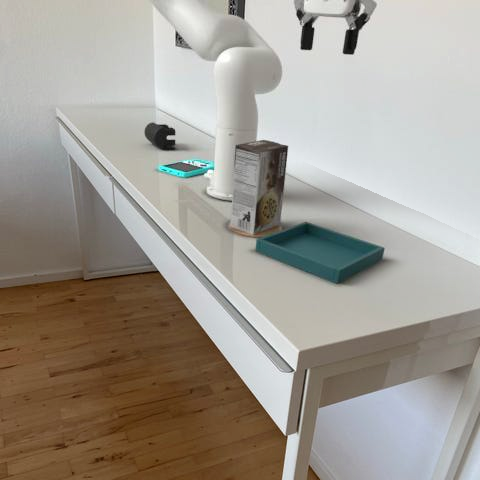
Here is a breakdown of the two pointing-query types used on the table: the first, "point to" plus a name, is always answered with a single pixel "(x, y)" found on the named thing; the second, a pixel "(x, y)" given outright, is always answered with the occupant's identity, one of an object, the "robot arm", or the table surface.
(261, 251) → the tray
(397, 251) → the table surface
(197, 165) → the handheld game console
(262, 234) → the coaster
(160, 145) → the end cap
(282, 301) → the table surface
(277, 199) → the coffee box
